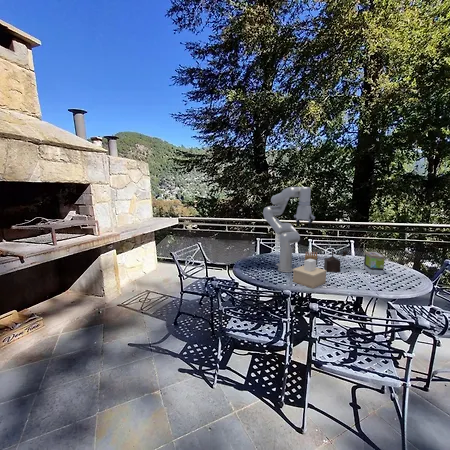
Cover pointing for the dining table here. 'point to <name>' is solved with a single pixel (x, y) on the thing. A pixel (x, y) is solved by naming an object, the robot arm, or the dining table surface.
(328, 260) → the manual coffee grinder
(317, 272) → the box lid
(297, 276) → the cardboard box
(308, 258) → the ammunition clip
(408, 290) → the dining table surface
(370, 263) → the tea box
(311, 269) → the weight block
